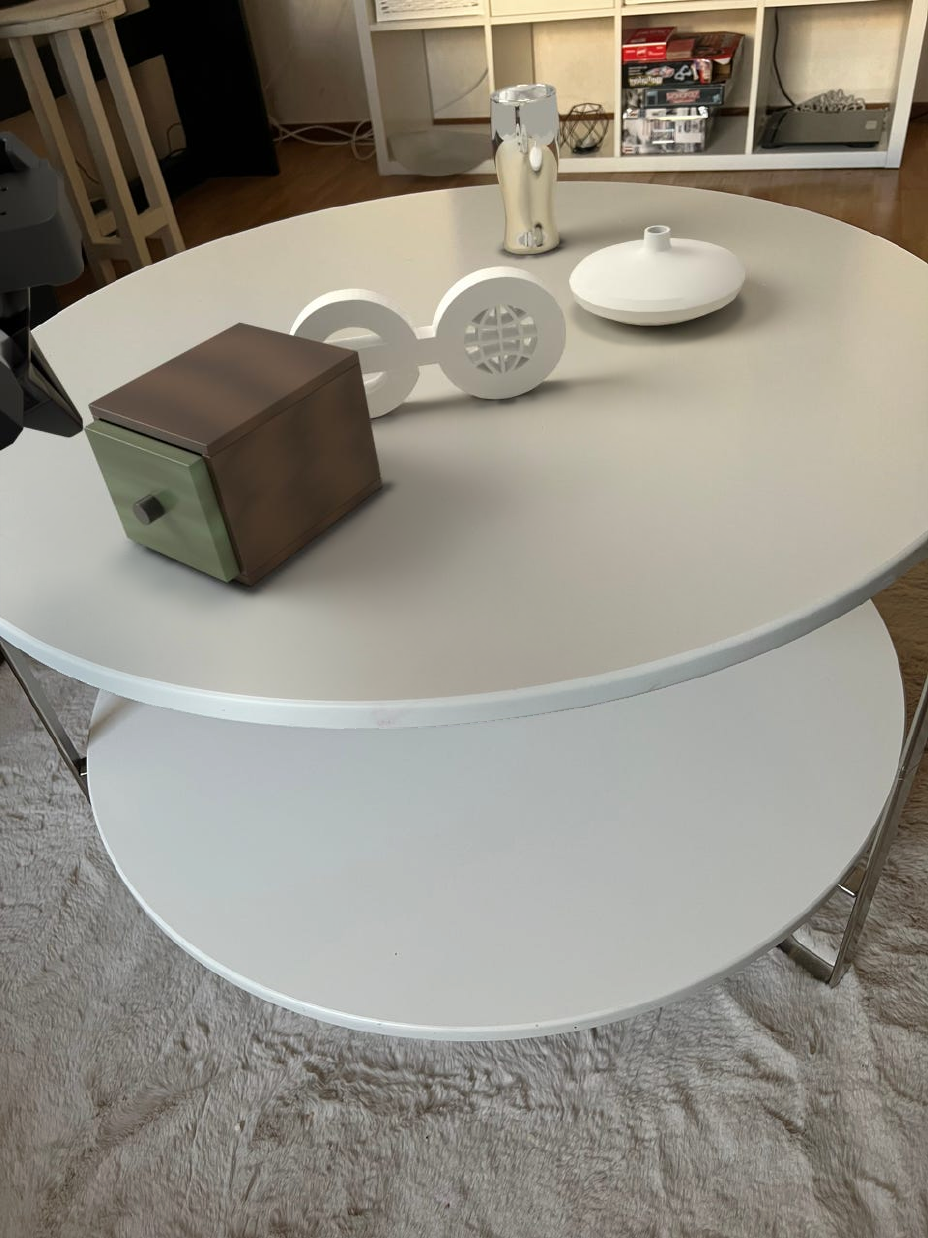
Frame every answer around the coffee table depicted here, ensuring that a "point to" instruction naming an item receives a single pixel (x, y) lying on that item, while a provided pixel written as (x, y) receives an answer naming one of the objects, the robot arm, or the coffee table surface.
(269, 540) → the cabinet
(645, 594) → the coffee table surface
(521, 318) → the white flat cutout piece
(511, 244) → the beer glass
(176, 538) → the drawer
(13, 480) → the coffee table surface
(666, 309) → the vase
